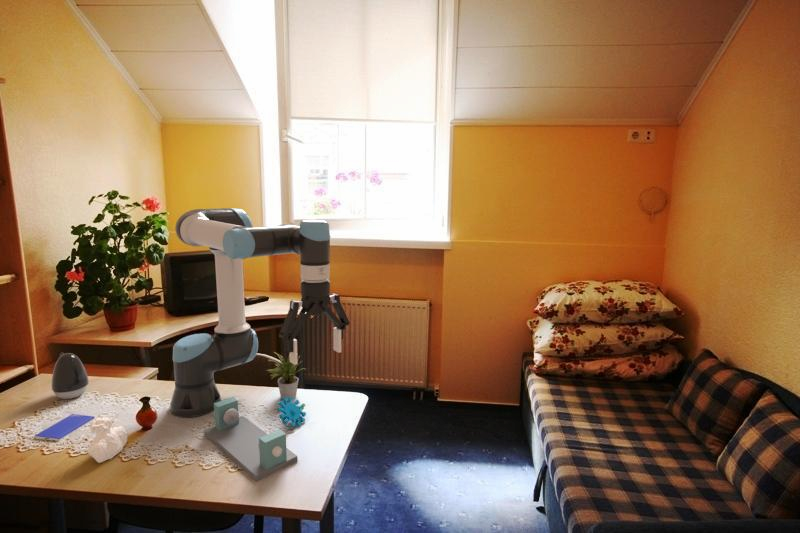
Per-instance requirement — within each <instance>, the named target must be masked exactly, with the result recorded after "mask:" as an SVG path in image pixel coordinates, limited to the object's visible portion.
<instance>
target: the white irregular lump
mask: <svg viewBox="0 0 800 533" xmlns="http://www.w3.org/2000/svg"><path fill="white" fill-rule="evenodd" d="M113 424H114V423H113V421H112V420H111V416H107V417H96V418H95V419H94V420H93V421H91V422H90V423H89V428H90V431H91V433H92V434H95V433H96V435H95V436H94V438H93V440H91V441H90V444H89V445H88V449H87V451H86V452H87V454H88V455H89V456H91V457H92V458H93V459H94V460H95V461H96V462H97V463H98V464H100V463H104V462H105V461H109V460H111V459H113V458H114V457H115V456H117V455H118V454H119V453H120V452H122V451H123V448H124V446H125V445H126V444H127V442H128V437H129V436H128V432H127V430H126V429H125V427H124V426H121V425H119V426H115V427H112V426H113Z"/></svg>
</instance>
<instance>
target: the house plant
mask: <svg viewBox="0 0 800 533" xmlns="http://www.w3.org/2000/svg"><path fill="white" fill-rule="evenodd" d="M273 353H274V354H276V355H277V357H278V359H279V361H280V363H281V364H280V363H279V362H277V361H276V360H274V359H269V362H274V365H275V366H277V367H275V368H273V369H271V368H270V369H266V371H267V372H271V373H272V374H270V377H271V378H270V379H271V380H272V379H274V378H276V377H279V378H278V379H277V384H278V390H279V394H280V399H281V400H282V399H283V398H284V397H287V399H288V400H287V401H289V398H290V397H292V398H293V400H294V399H296V398H297V392H298V385H299V377H297V376H295V375H296V374H297V373H298V372H299V371H301V370H306V368H304V367H303V368H300V369H298V370H297V367H299V365H300V364H301V363H302V362H303V360H301V361H300V362H299V360H300V357H301V355H299V356H298V352H297V356H298V357H297V363H298V364H297V365H294V364H293V363H291V362H290V353H289V355H288V357H287V361H286V360H285V358H284V357H283V356H282V355H281V354H279V353H277V352H275V351H273Z"/></svg>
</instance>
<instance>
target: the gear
mask: <svg viewBox="0 0 800 533" xmlns="http://www.w3.org/2000/svg"><path fill="white" fill-rule="evenodd" d="M293 400H294V399H293V398H292V397H290V398H289V400H288V399H287V397H284V398H283V399H281V400H280V401H279V402H278V405H279V406H278V407H277V410H276V411H277V412H278V413H280V414H279V416H278V417H279V419H281V421H282V422H283V423H284V425H285V426H287V425H288V424H289V427H291V428H295V427H297V428H298V427H301V426H302V424H303V423H304V422H306V419H305V417H306V415H307V412H306V411H303V410H304V409H305V407H306V404H305V403H304V402H303V403H302V404H301V403H300V401H299V400H298V399H296V400H295V401H294V402H293ZM299 404H301V405H299ZM290 421H291V423H290ZM296 422H297V423H296Z"/></svg>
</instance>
